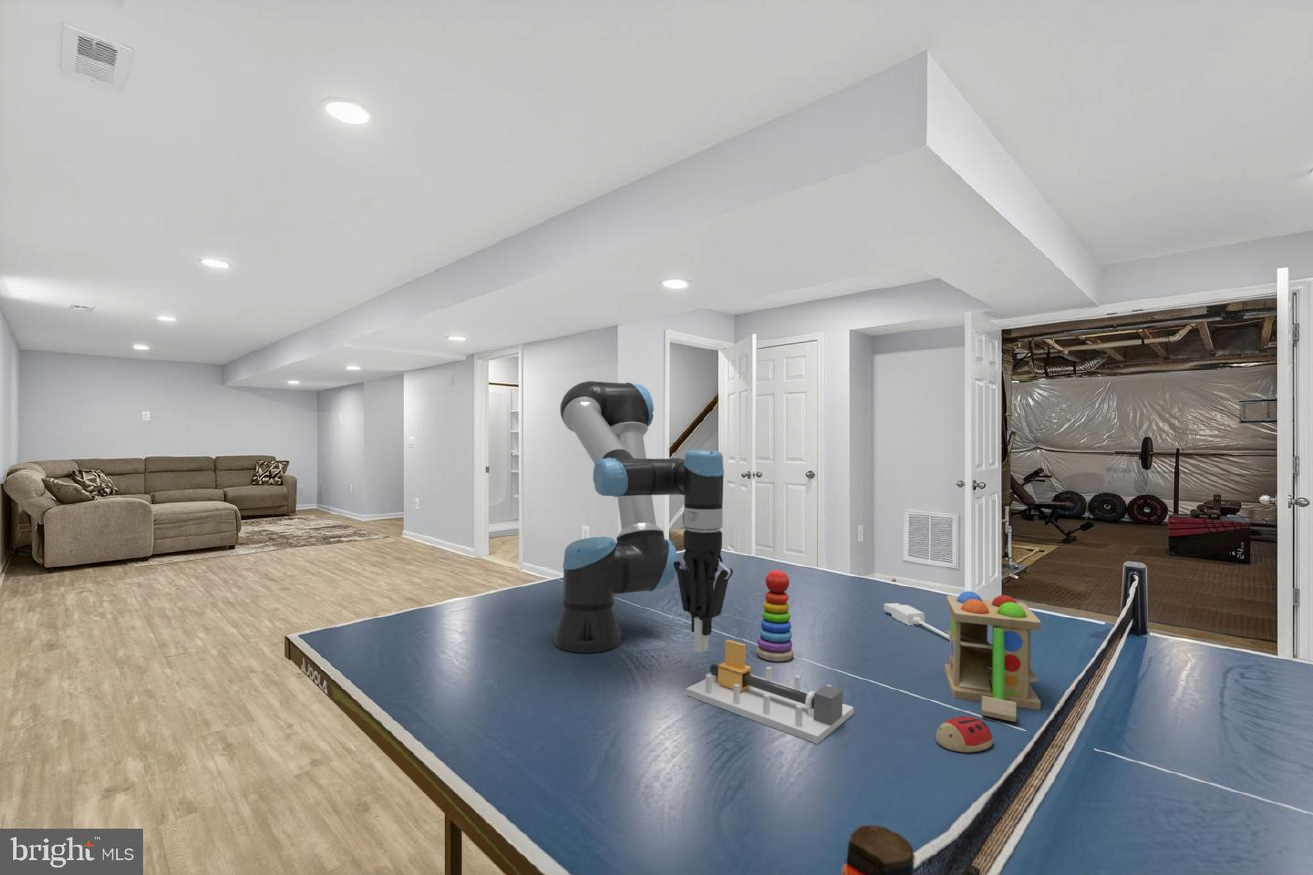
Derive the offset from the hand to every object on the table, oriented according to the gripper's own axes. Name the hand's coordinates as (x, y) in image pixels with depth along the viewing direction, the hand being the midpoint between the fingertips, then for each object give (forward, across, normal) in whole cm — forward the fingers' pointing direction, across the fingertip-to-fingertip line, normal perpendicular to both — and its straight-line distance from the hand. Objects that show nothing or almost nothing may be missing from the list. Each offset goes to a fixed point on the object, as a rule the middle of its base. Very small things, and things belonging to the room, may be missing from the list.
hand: (701, 650), depth 118 cm
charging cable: (+7, +23, +65) cm, 69 cm away
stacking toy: (+6, +4, +22) cm, 23 cm away
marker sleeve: (+5, +8, 0) cm, 9 cm away
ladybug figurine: (+7, +45, +10) cm, 46 cm away
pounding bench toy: (+7, +44, +32) cm, 55 cm away
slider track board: (+6, +15, 0) cm, 16 cm away
